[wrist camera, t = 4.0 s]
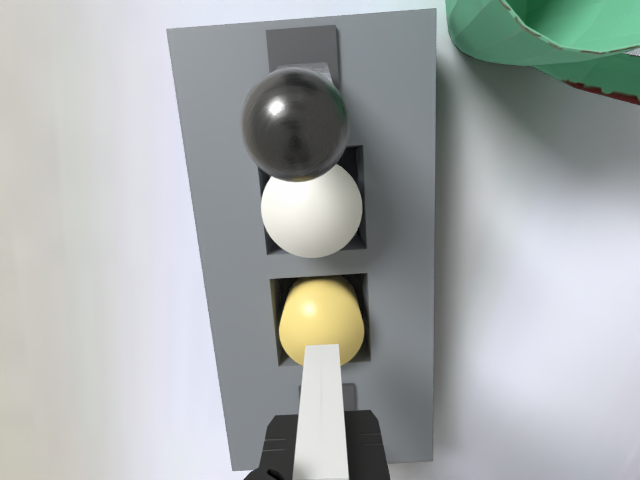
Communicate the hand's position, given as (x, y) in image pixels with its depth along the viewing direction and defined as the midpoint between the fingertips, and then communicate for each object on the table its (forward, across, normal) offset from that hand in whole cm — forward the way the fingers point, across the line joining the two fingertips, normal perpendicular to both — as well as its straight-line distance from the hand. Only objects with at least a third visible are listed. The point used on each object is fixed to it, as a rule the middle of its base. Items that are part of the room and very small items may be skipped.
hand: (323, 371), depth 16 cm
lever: (+5, 0, +13) cm, 14 cm away
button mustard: (+8, 0, -1) cm, 8 cm away
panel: (+10, 0, +2) cm, 10 cm away
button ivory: (+6, 0, +7) cm, 9 cm away
